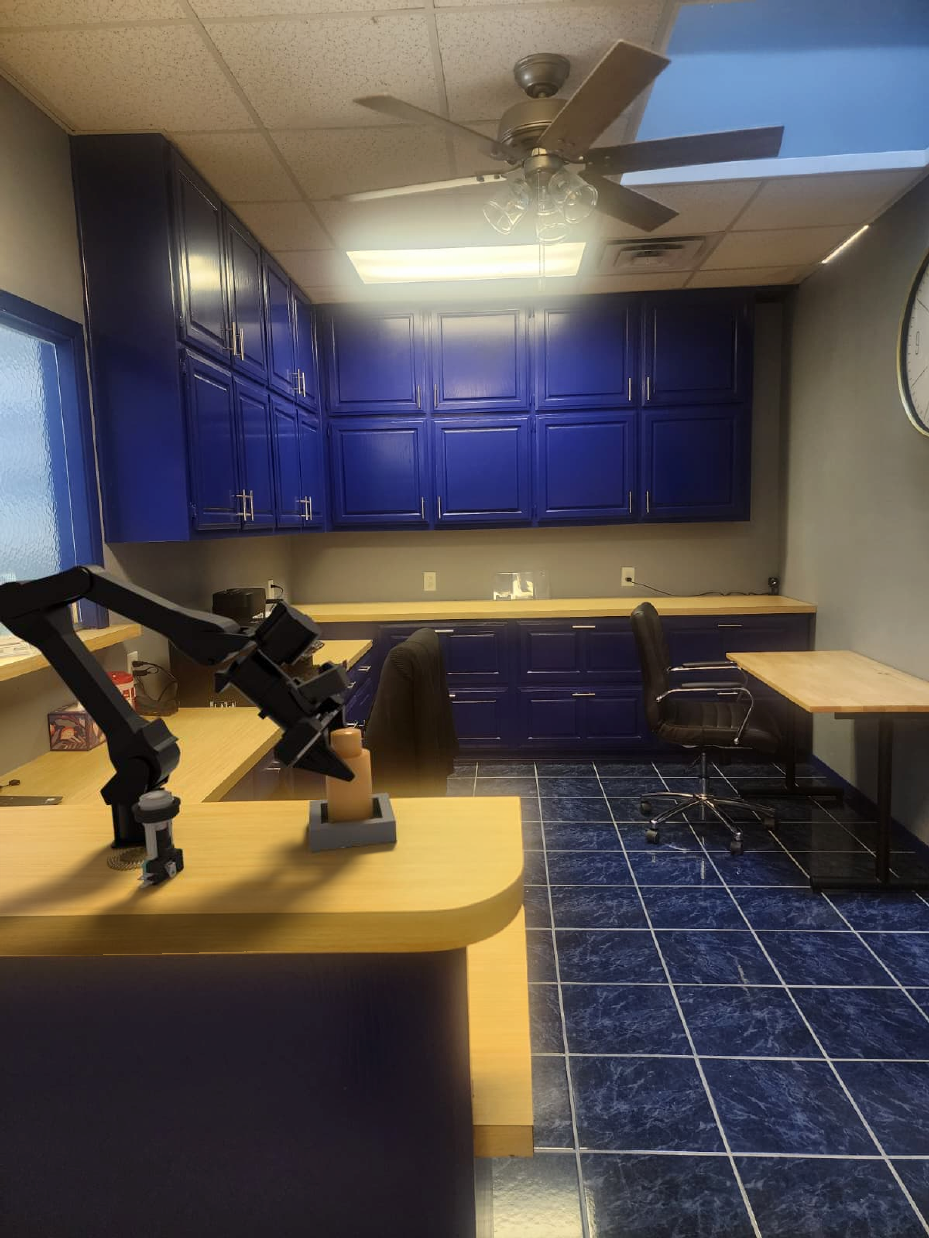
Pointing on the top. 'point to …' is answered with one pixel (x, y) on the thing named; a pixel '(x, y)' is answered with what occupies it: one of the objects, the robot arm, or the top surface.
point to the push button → (159, 836)
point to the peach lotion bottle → (356, 795)
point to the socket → (351, 826)
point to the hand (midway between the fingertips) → (358, 767)
